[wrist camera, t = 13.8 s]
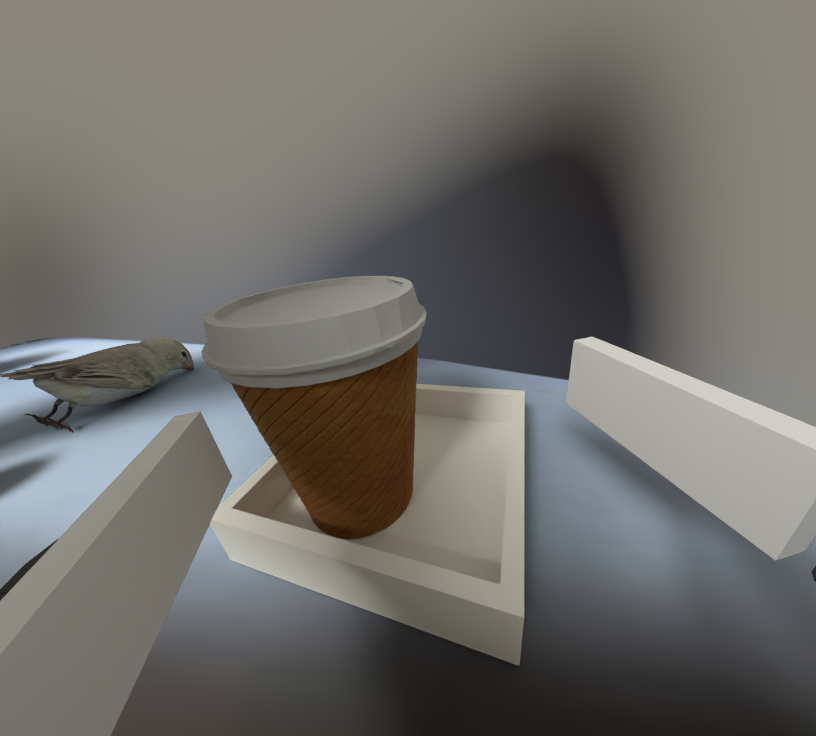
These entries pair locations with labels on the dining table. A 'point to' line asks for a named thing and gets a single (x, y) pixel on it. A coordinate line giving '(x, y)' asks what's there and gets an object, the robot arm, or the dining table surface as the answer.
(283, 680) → the dining table surface
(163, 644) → the dining table surface
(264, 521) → the dish
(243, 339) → the disposable coffee cup
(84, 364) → the decorative bird
